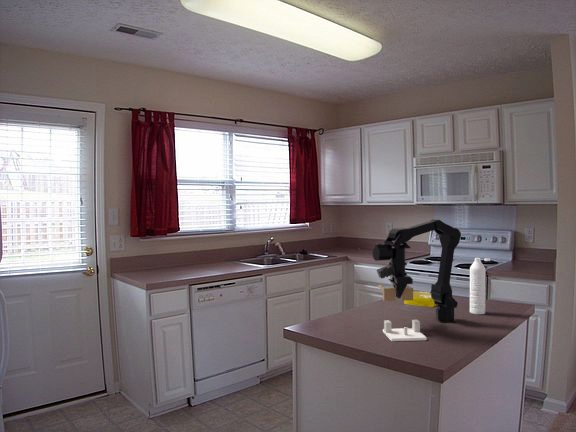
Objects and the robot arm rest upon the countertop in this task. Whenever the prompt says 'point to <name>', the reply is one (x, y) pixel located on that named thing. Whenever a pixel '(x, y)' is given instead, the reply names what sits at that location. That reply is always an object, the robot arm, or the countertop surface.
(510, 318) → the countertop surface
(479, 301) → the water bottle
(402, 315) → the countertop surface
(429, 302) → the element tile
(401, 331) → the display stand
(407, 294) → the wooden c-shaped bracket
